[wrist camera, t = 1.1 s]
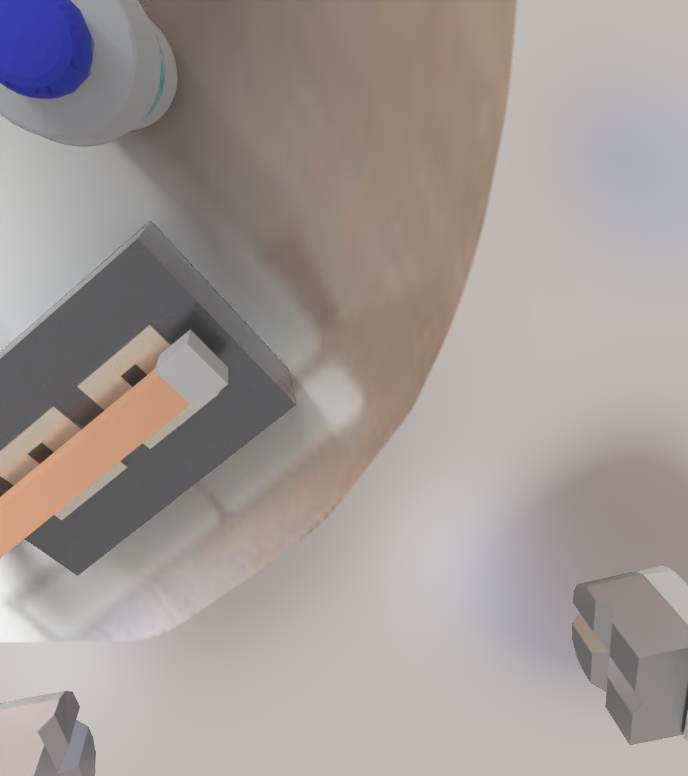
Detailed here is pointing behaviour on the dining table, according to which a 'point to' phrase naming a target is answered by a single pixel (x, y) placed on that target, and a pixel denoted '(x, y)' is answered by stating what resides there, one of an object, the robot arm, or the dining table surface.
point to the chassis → (117, 376)
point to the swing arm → (112, 436)
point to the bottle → (83, 69)
